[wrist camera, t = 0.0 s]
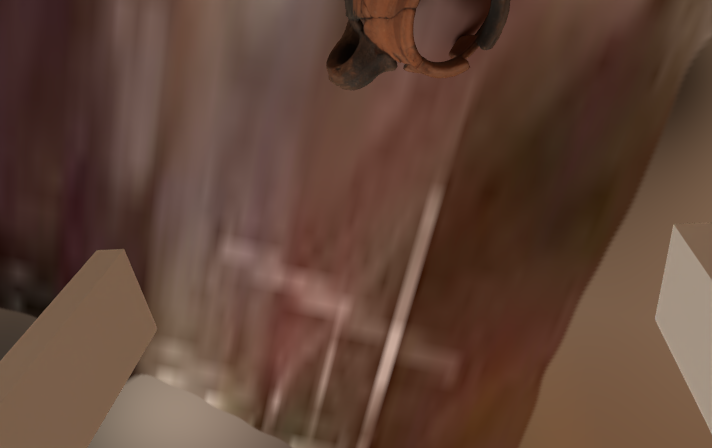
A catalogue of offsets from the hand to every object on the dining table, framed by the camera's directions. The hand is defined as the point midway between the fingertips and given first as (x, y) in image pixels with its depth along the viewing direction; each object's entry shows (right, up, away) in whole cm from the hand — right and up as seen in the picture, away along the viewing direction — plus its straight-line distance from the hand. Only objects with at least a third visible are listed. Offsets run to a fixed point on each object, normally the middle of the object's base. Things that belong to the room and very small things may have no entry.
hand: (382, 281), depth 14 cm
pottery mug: (+3, +16, +23) cm, 28 cm away
